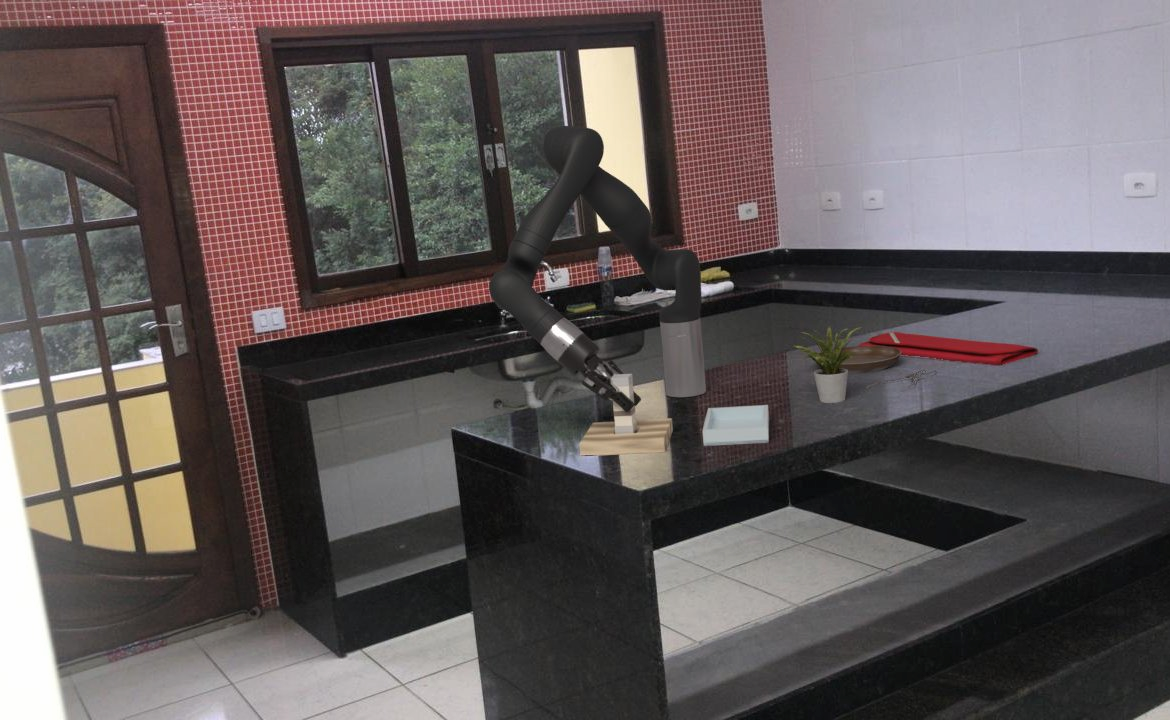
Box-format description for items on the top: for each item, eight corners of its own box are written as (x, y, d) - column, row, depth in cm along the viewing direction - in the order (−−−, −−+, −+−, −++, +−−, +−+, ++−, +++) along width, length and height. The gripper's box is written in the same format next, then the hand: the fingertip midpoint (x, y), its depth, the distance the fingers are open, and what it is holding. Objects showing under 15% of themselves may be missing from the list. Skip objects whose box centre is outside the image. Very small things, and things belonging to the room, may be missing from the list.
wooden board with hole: (594, 434, 217) (593, 422, 216) (672, 430, 214) (671, 418, 213) (580, 456, 201) (579, 443, 201) (665, 452, 198) (663, 439, 198)
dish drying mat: (999, 368, 243) (999, 352, 242) (857, 354, 276) (856, 339, 275) (1038, 355, 252) (1038, 340, 251) (896, 343, 285) (895, 329, 284)
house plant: (845, 388, 236) (841, 315, 233) (884, 398, 223) (880, 321, 220) (789, 399, 231) (784, 324, 228) (825, 409, 218) (821, 331, 215)
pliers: (862, 387, 233) (896, 369, 249) (862, 391, 233) (896, 372, 249) (906, 389, 227) (937, 370, 243) (906, 393, 227) (937, 374, 243)
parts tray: (709, 422, 217) (708, 408, 217) (769, 419, 215) (767, 404, 215) (703, 445, 200) (702, 430, 199) (768, 442, 198) (767, 427, 197)
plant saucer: (849, 379, 245) (848, 365, 245) (797, 368, 264) (796, 355, 264) (920, 365, 253) (919, 351, 253) (864, 355, 272) (864, 342, 271)
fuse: (619, 429, 210) (614, 374, 208) (637, 428, 209) (632, 373, 207) (615, 434, 206) (609, 378, 204) (633, 433, 205) (628, 377, 203)
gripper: (567, 339, 200) (635, 401, 198) (593, 326, 213) (657, 384, 211) (544, 367, 203) (611, 429, 201) (571, 353, 216) (634, 410, 214)
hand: (634, 405), depth 206 cm, fingers closed on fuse, 3 cm apart
